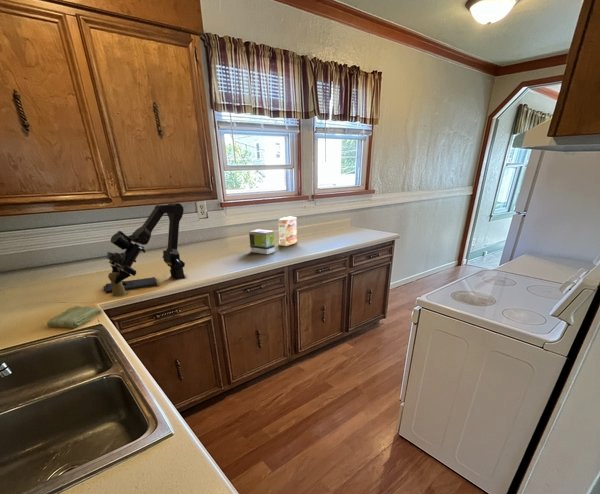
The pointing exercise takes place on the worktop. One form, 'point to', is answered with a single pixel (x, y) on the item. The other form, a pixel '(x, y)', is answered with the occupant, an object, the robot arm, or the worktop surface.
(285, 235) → the coffeecake box
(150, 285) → the socket pad
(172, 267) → the robot arm
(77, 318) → the washcloth
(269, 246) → the tea box
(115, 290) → the cork
